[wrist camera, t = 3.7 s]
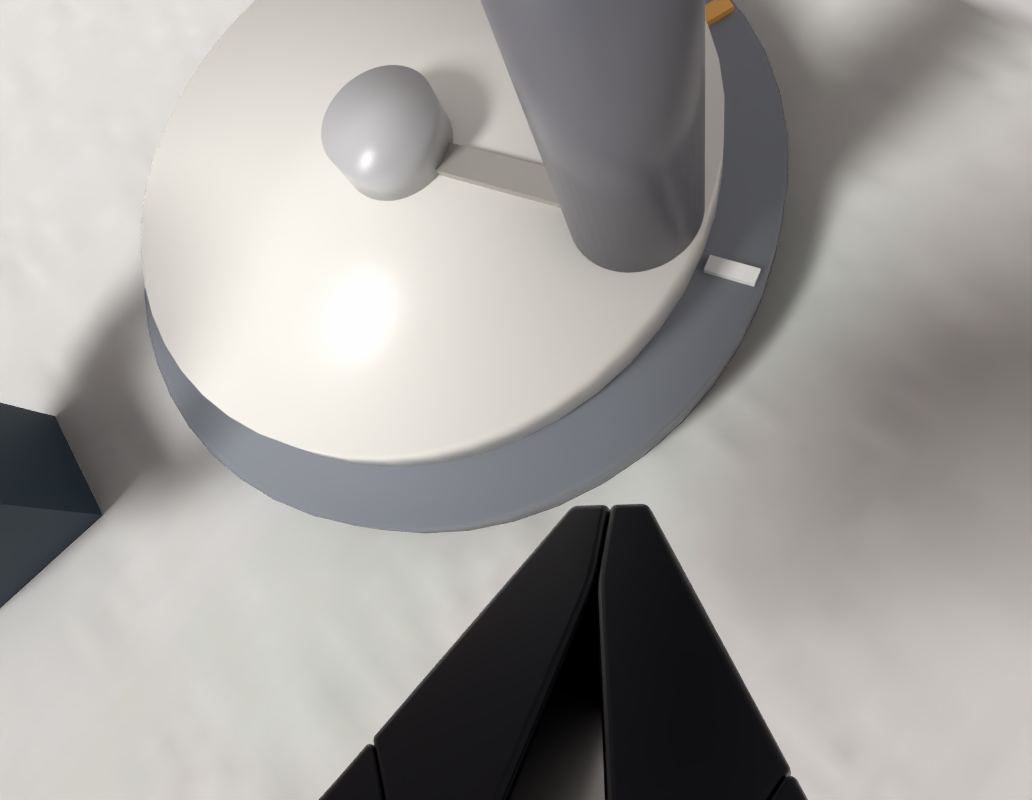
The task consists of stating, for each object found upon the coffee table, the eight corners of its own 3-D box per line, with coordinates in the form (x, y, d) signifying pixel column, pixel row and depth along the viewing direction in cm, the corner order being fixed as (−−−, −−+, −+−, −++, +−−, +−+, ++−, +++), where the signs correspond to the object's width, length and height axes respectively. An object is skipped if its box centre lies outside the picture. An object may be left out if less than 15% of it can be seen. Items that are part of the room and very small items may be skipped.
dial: (860, 65, 16) (1109, -755, 6) (449, 605, 15) (-8, 652, 5) (402, -113, 21) (159, -670, 12) (93, 269, 21) (-430, 3, 11)
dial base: (935, 90, 17) (959, 39, 15) (481, 693, 16) (457, 706, 14) (419, -109, 24) (400, -157, 22) (86, 303, 23) (41, 283, 21)
